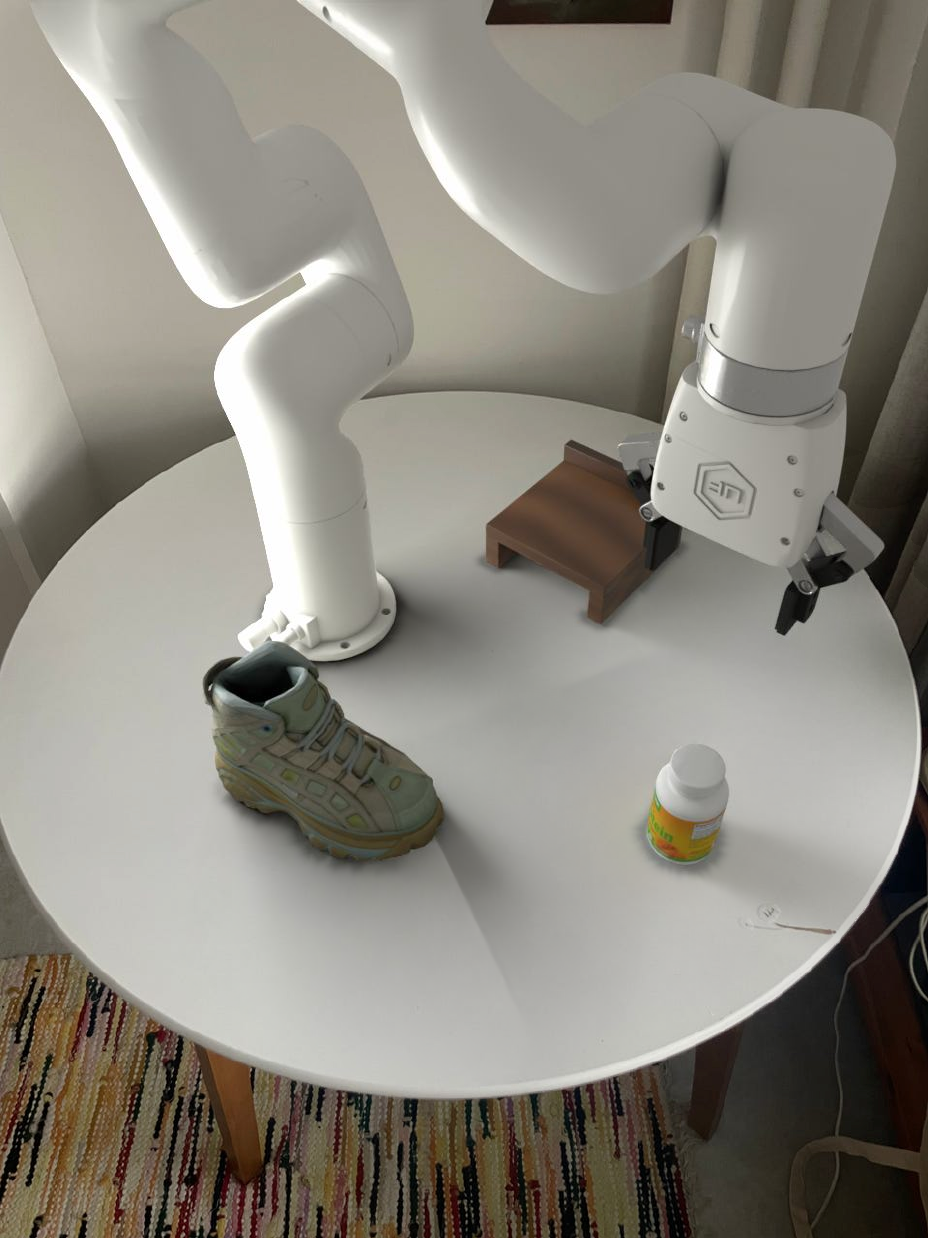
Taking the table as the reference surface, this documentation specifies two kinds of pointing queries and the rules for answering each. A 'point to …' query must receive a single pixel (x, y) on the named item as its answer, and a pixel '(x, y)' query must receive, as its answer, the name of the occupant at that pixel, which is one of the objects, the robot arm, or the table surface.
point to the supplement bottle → (688, 805)
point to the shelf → (578, 528)
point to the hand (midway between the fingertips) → (723, 589)
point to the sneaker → (314, 759)
